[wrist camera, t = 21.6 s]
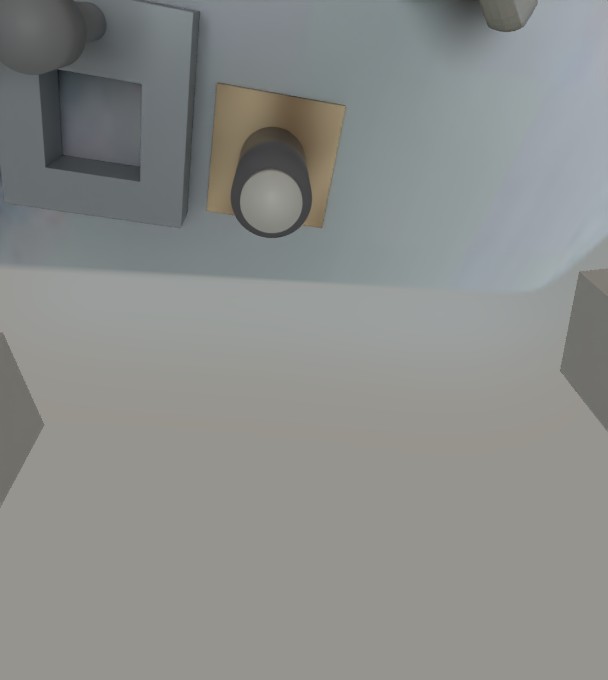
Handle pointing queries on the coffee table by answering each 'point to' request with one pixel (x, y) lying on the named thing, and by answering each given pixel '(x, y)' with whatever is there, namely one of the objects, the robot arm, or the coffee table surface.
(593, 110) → the coffee table surface
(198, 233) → the coffee table surface
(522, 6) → the digital clock
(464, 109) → the coffee table surface
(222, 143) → the coaster
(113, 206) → the socket
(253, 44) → the coffee table surface
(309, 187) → the plug
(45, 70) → the wooden handle
